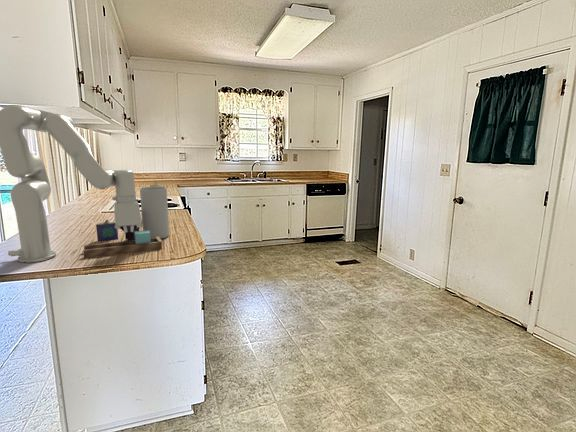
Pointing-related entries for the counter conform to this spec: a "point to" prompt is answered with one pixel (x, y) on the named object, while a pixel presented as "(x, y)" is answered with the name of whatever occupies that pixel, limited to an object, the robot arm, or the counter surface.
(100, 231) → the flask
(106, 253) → the chute
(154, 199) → the cylinder vase
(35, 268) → the counter surface
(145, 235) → the block
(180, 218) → the counter surface
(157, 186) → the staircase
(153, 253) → the counter surface
